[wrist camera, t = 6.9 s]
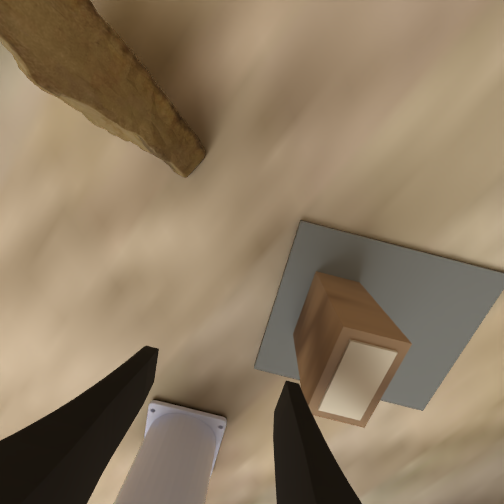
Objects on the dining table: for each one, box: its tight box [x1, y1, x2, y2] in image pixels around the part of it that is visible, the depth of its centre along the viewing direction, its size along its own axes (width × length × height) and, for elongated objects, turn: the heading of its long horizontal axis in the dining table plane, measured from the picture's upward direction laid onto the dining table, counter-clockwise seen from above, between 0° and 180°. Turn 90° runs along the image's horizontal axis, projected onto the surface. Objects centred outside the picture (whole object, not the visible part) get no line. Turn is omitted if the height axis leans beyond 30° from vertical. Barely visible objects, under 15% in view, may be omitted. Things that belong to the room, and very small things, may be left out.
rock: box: [0, 0, 206, 177], centre depth 13 cm, size 11×9×10 cm
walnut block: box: [293, 271, 412, 428], centre depth 16 cm, size 6×4×7 cm, turn 166°
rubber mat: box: [254, 220, 504, 411], centre depth 20 cm, size 14×16×1 cm
